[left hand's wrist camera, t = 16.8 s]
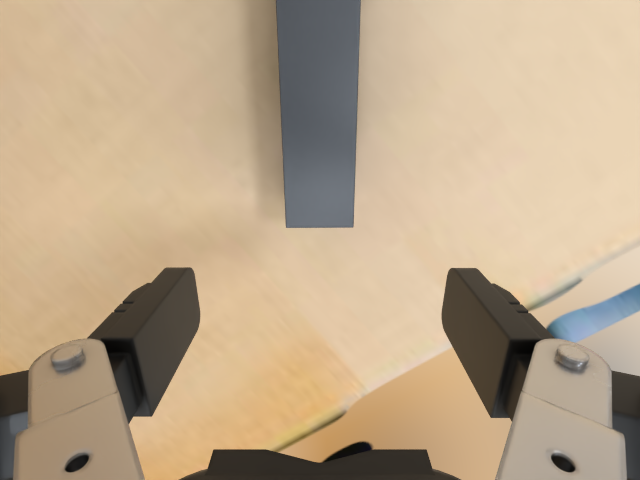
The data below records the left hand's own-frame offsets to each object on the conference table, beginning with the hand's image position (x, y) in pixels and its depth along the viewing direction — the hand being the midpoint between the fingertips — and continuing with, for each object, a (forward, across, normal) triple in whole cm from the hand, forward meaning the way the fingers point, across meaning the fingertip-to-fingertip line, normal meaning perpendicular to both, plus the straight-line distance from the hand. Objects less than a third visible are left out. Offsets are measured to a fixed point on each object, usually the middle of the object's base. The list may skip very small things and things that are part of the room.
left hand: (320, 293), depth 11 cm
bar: (+24, 0, -9) cm, 26 cm away
